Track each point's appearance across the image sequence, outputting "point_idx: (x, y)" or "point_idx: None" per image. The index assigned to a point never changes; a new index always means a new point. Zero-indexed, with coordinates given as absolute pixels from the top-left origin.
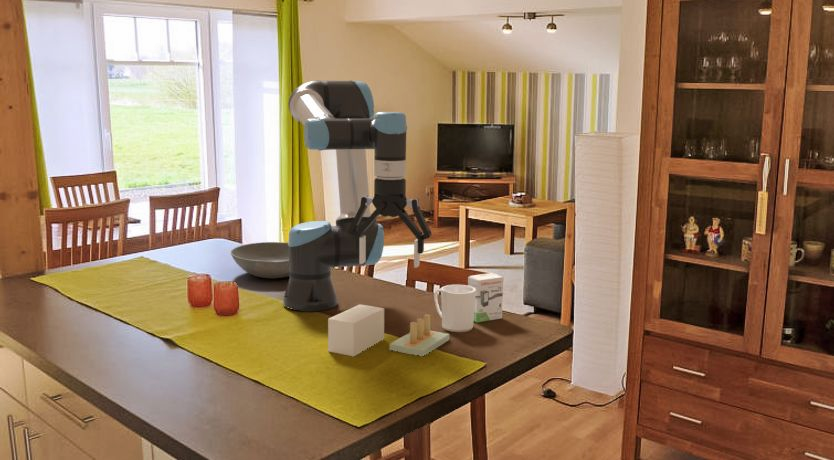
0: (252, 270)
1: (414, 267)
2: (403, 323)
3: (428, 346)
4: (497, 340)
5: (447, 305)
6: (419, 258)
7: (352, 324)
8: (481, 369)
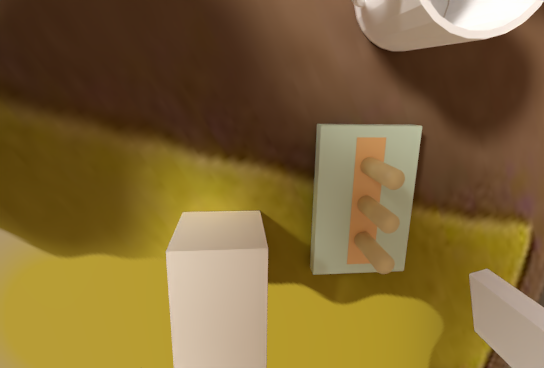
0: None
1: (478, 330)
2: (233, 49)
3: (405, 241)
4: (531, 61)
5: (425, 41)
6: (523, 295)
7: None
8: (529, 263)
